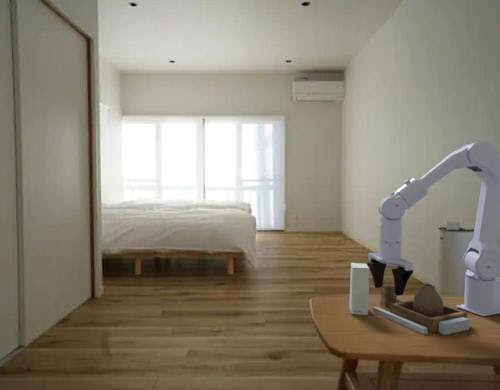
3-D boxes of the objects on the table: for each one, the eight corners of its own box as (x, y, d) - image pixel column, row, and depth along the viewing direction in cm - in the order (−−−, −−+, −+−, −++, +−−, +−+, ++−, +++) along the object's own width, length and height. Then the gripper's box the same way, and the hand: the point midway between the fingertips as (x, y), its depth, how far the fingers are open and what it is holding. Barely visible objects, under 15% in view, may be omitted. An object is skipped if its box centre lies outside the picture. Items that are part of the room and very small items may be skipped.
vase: (446, 326, 94) (448, 289, 93) (415, 324, 95) (416, 287, 95) (439, 316, 100) (440, 282, 100) (409, 314, 102) (410, 280, 101)
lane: (407, 306, 109) (408, 297, 108) (469, 329, 92) (469, 319, 92) (373, 311, 103) (373, 302, 103) (431, 337, 87) (431, 326, 87)
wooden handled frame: (402, 301, 113) (403, 283, 113) (466, 325, 95) (467, 304, 95) (369, 306, 108) (369, 288, 108) (430, 332, 90) (431, 310, 90)
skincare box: (368, 315, 101) (369, 268, 100) (351, 314, 101) (352, 267, 101) (365, 308, 107) (366, 263, 106) (349, 306, 107) (350, 262, 107)
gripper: (360, 238, 114) (359, 285, 114) (399, 246, 101) (397, 300, 101) (379, 237, 117) (378, 283, 117) (419, 245, 104) (417, 297, 104)
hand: (388, 291), depth 109 cm, fingers open, 7 cm apart
